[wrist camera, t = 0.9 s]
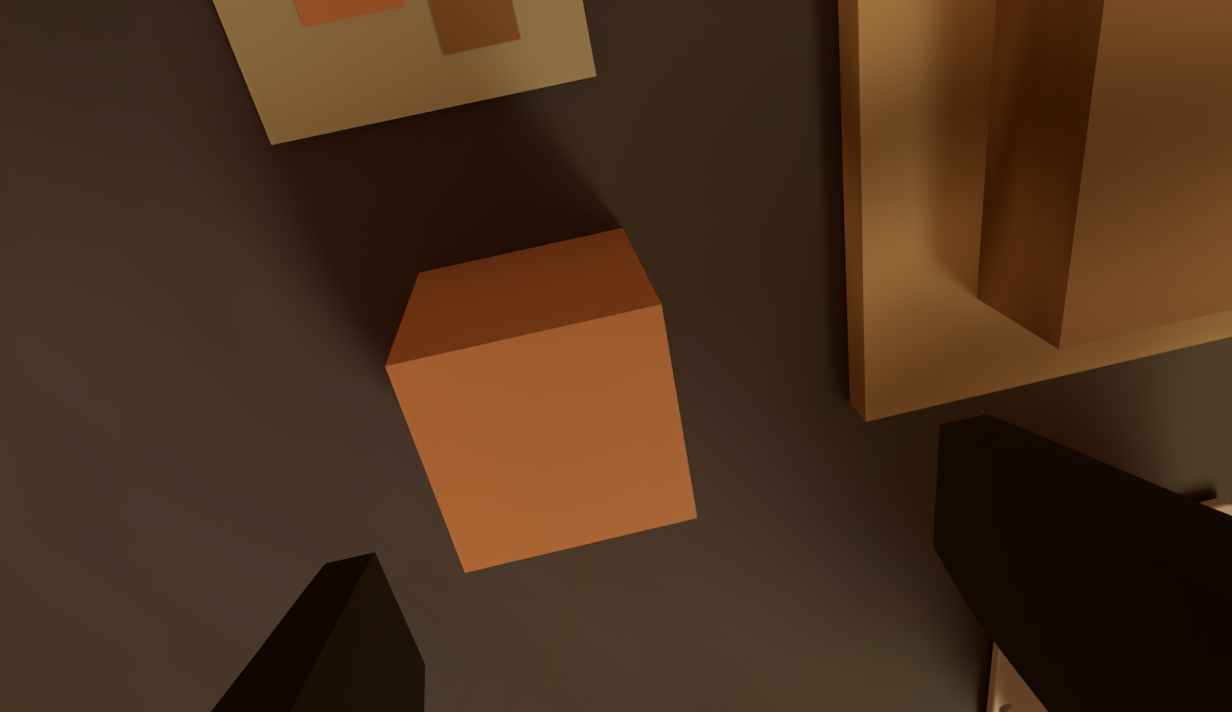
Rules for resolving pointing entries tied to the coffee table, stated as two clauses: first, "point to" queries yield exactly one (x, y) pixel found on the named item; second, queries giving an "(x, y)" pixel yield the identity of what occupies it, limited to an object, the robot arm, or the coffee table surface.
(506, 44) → the card
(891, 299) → the plate
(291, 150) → the coffee table surface
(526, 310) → the terracotta cube
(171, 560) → the coffee table surface
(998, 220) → the walnut slab
